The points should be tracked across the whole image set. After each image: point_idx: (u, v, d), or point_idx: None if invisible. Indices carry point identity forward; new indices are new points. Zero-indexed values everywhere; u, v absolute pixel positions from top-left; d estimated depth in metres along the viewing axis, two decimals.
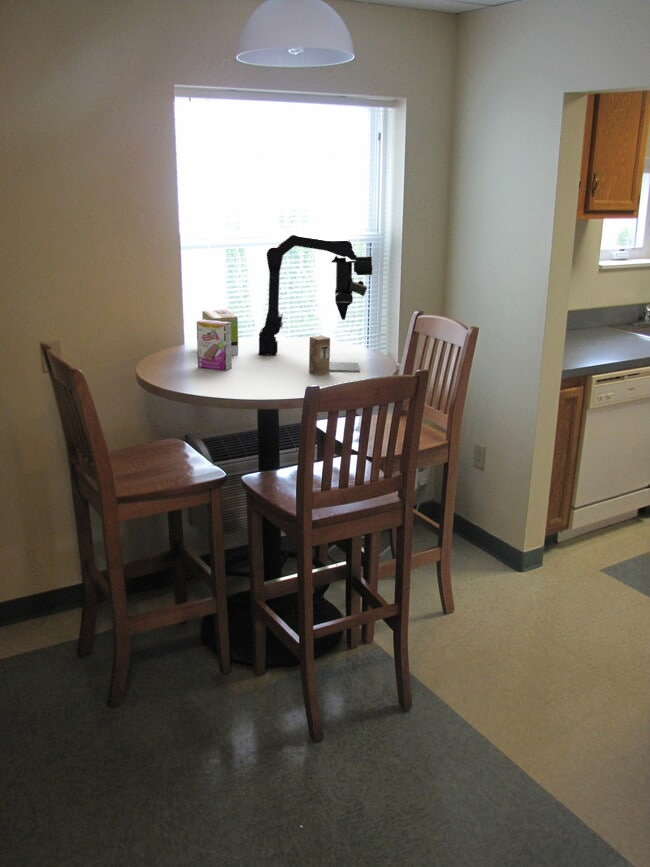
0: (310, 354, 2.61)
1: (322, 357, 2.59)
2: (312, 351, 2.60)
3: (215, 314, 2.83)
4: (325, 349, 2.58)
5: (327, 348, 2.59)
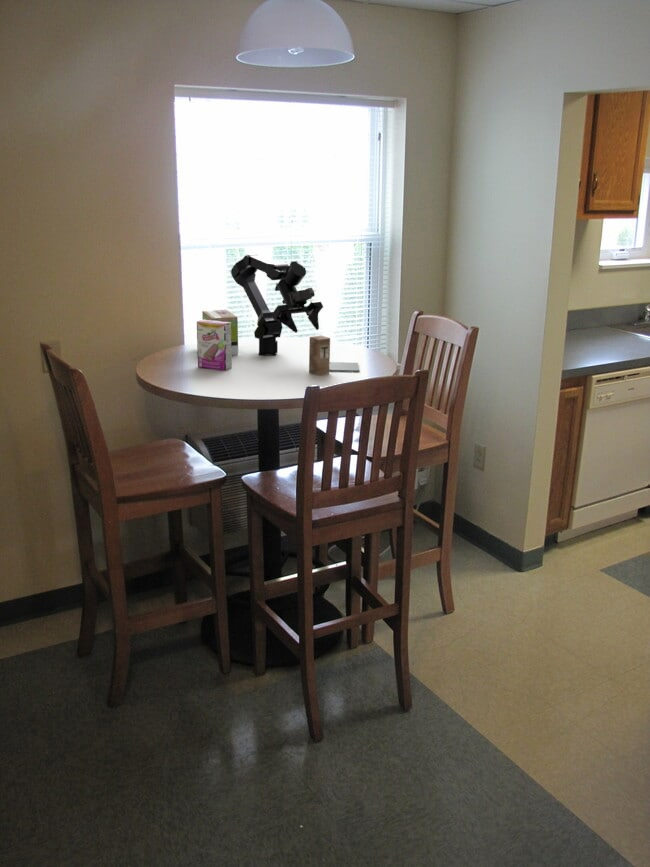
0: (310, 354, 2.61)
1: (322, 357, 2.59)
2: (312, 351, 2.60)
3: (215, 314, 2.83)
4: (325, 349, 2.58)
5: (327, 348, 2.59)
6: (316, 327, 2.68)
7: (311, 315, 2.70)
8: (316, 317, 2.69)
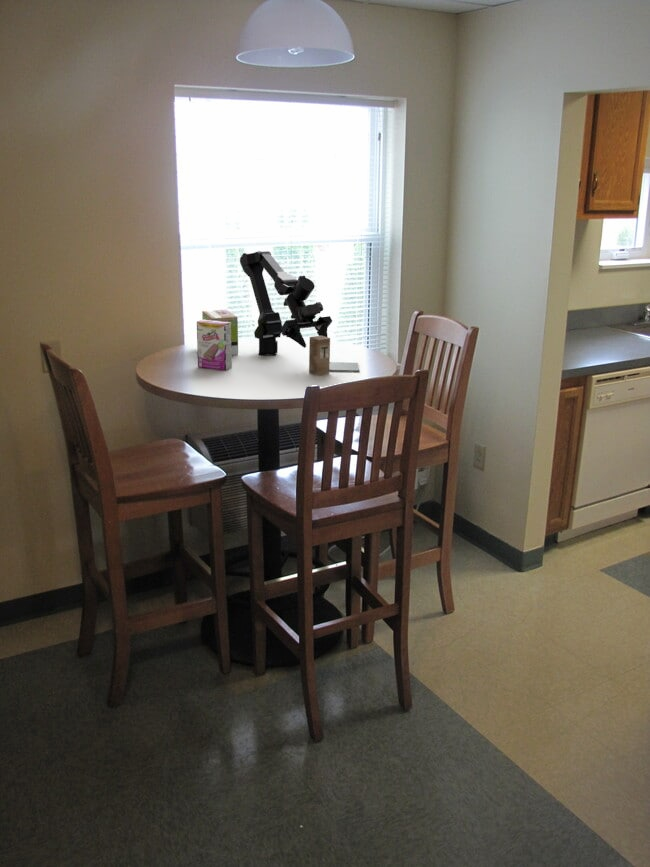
0: (310, 354, 2.61)
1: (322, 357, 2.59)
2: (312, 351, 2.60)
3: (215, 314, 2.83)
4: (325, 349, 2.58)
5: (327, 348, 2.59)
6: None
7: (320, 330, 2.67)
8: (325, 332, 2.65)
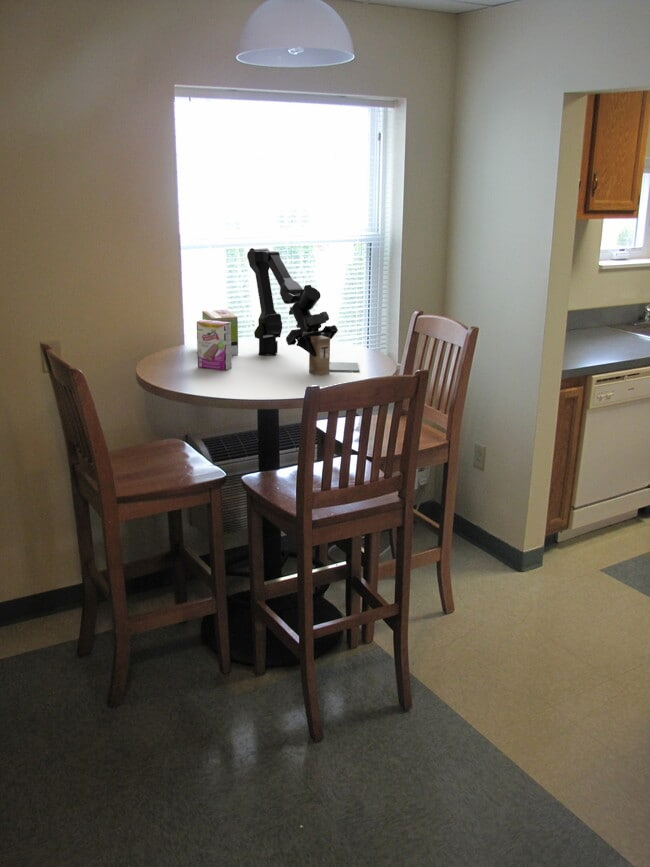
0: (310, 354, 2.61)
1: (322, 357, 2.59)
2: None
3: (215, 314, 2.83)
4: (325, 349, 2.58)
5: (327, 348, 2.59)
6: None
7: None
8: None
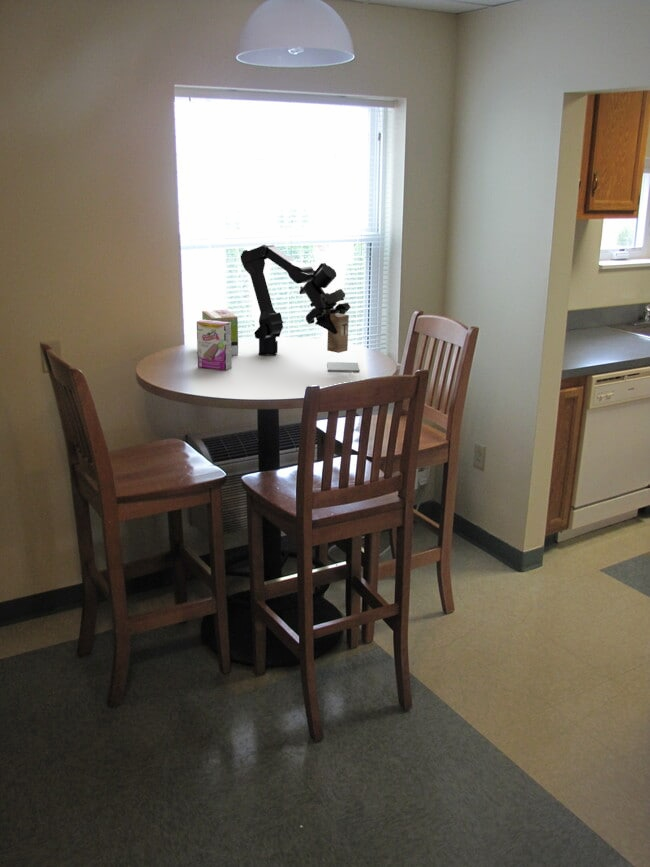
0: (329, 332, 2.63)
1: (342, 334, 2.62)
2: None
3: (215, 314, 2.83)
4: (345, 326, 2.62)
5: (346, 325, 2.62)
6: None
7: None
8: None
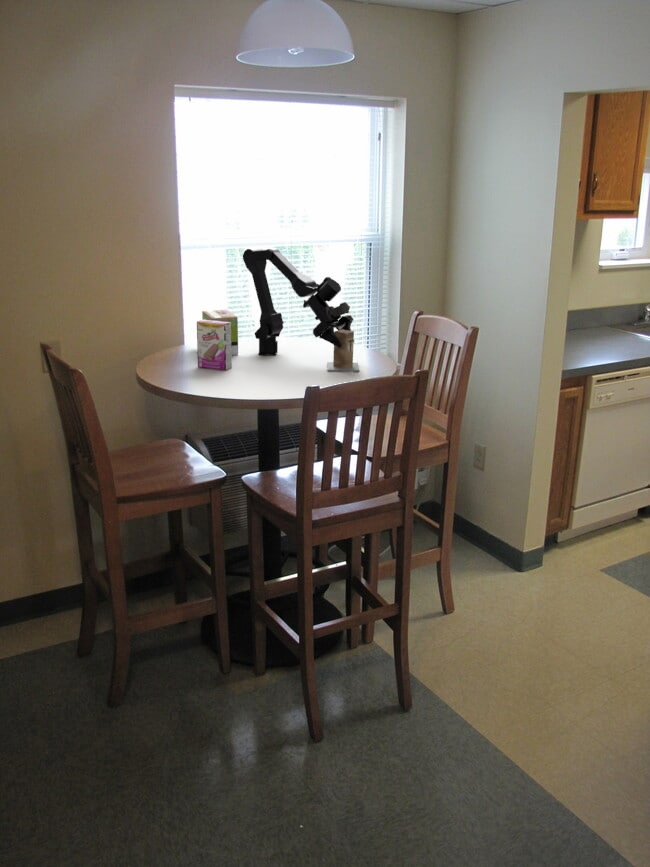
0: (335, 348, 2.68)
1: (349, 350, 2.67)
2: None
3: (215, 314, 2.83)
4: (351, 342, 2.67)
5: (352, 341, 2.67)
6: None
7: (343, 329, 2.72)
8: None
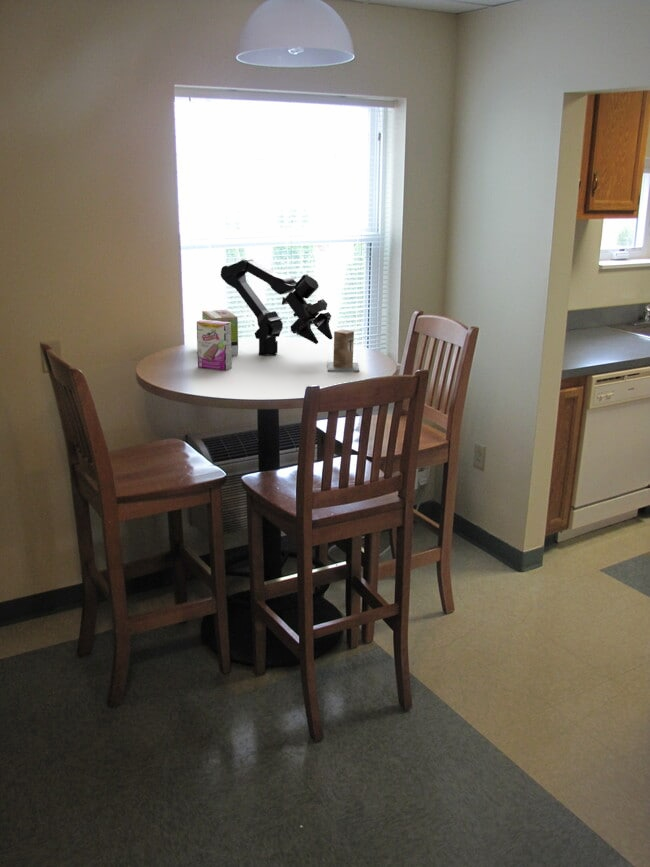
0: (335, 348, 2.68)
1: (349, 350, 2.67)
2: (338, 345, 2.67)
3: (215, 314, 2.83)
4: (351, 342, 2.67)
5: (352, 341, 2.67)
6: (329, 337, 2.76)
7: (322, 326, 2.77)
8: (328, 327, 2.76)
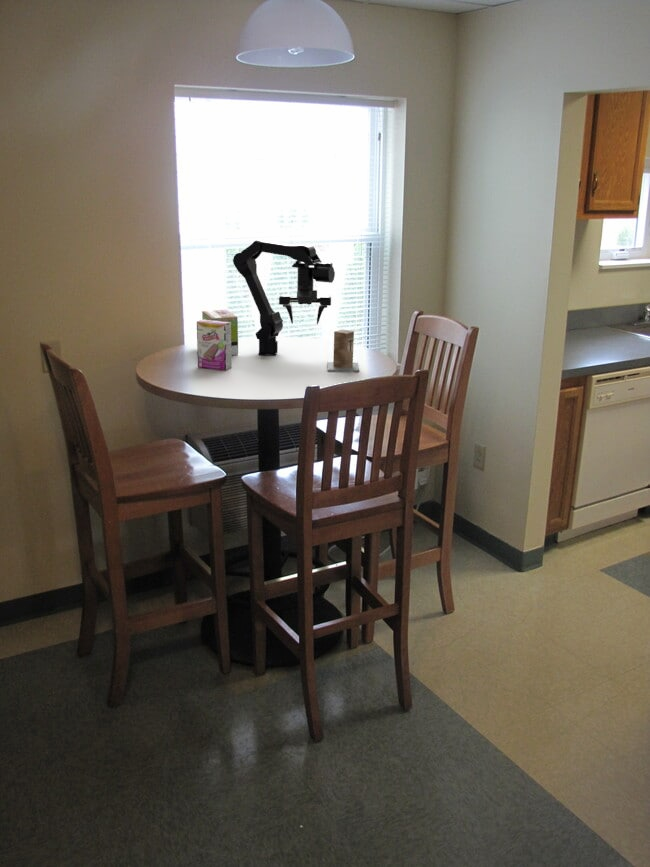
0: (335, 348, 2.68)
1: (349, 350, 2.67)
2: (338, 345, 2.67)
3: (215, 314, 2.83)
4: (351, 342, 2.67)
5: (352, 341, 2.67)
6: None
7: None
8: (319, 313, 2.76)
